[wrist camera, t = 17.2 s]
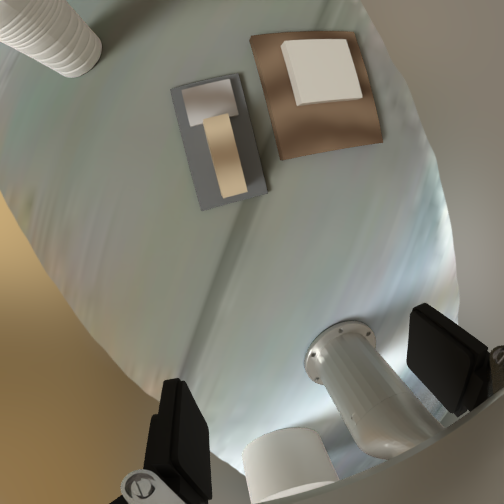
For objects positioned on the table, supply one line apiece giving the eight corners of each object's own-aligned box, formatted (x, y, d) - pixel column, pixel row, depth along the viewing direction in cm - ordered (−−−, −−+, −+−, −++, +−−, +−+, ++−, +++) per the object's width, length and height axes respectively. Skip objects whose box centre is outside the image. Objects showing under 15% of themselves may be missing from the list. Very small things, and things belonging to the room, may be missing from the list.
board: (376, 142, 34) (383, 142, 33) (280, 160, 33) (283, 160, 32) (348, 35, 29) (353, 31, 28) (249, 40, 28) (251, 35, 27)
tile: (362, 97, 29) (345, 39, 26) (301, 103, 28) (284, 40, 26) (354, 100, 31) (339, 44, 28) (296, 106, 30) (280, 46, 28)
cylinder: (301, 467, 55) (335, 558, 28) (232, 468, 51) (253, 574, 24) (334, 425, 51) (387, 530, 24) (256, 426, 47) (292, 558, 20)
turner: (255, 185, 33) (261, 188, 30) (209, 197, 33) (209, 202, 29) (228, 80, 29) (232, 71, 26) (181, 91, 28) (179, 83, 25)
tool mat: (266, 192, 34) (267, 193, 34) (201, 210, 34) (201, 211, 33) (237, 74, 29) (238, 73, 29) (170, 90, 29) (170, 89, 28)
